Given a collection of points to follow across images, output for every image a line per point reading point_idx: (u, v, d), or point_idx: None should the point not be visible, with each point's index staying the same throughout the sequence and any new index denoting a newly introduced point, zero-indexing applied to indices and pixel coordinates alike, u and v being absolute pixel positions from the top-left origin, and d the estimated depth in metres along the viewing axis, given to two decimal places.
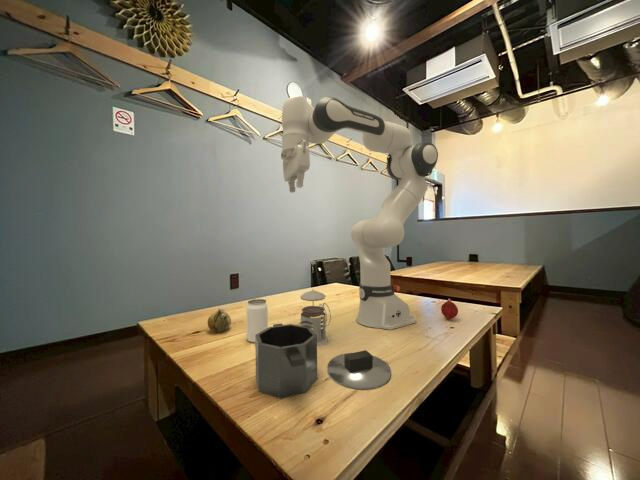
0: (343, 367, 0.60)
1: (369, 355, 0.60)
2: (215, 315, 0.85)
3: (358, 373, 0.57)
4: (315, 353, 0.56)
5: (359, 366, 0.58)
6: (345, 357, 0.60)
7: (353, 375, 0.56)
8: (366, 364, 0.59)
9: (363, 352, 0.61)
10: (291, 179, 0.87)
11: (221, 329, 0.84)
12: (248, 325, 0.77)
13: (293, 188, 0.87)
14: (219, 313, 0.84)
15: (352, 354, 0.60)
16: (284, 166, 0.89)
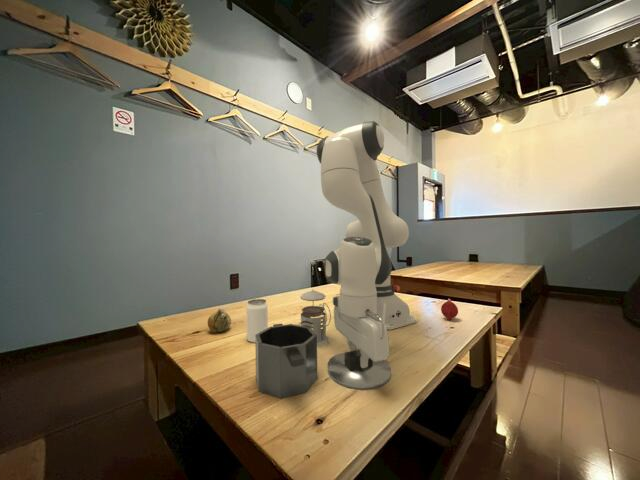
0: (343, 365, 0.60)
1: None
2: (215, 315, 0.85)
3: (358, 372, 0.57)
4: (315, 353, 0.56)
5: (359, 365, 0.58)
6: (345, 355, 0.60)
7: (353, 374, 0.56)
8: None
9: None
10: None
11: (221, 329, 0.84)
12: (248, 325, 0.77)
13: None
14: (219, 313, 0.84)
15: (352, 352, 0.60)
16: (336, 313, 0.66)
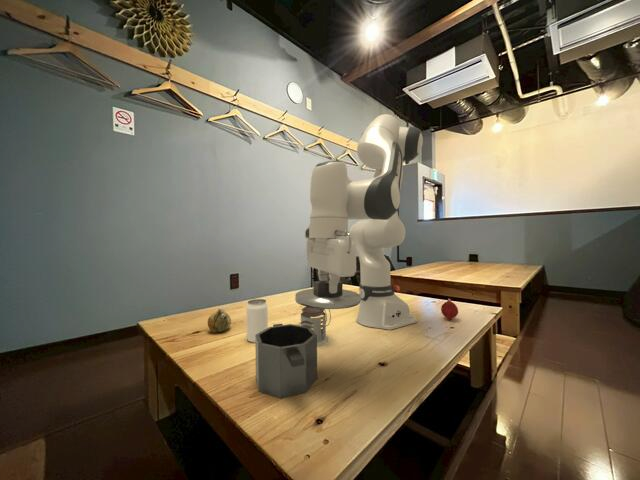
0: (312, 294, 0.58)
1: (339, 282, 0.57)
2: (215, 315, 0.85)
3: (326, 297, 0.55)
4: (315, 353, 0.56)
5: None
6: (314, 283, 0.57)
7: (320, 298, 0.54)
8: None
9: None
10: None
11: (221, 329, 0.84)
12: (248, 325, 0.77)
13: None
14: (219, 313, 0.84)
15: (322, 281, 0.58)
16: (309, 247, 0.64)
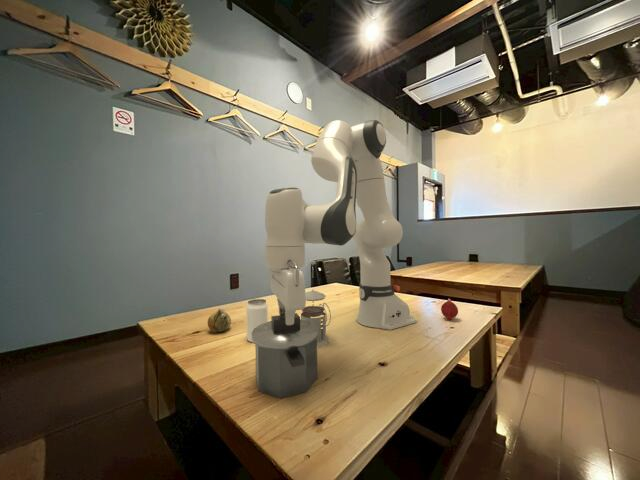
0: (269, 329, 0.57)
1: (297, 317, 0.56)
2: (215, 315, 0.85)
3: (281, 334, 0.54)
4: (315, 353, 0.56)
5: (285, 328, 0.55)
6: (271, 319, 0.56)
7: (275, 336, 0.53)
8: (293, 326, 0.56)
9: None
10: None
11: (221, 329, 0.84)
12: (248, 325, 0.77)
13: (284, 310, 0.59)
14: (219, 313, 0.84)
15: (279, 316, 0.57)
16: (270, 272, 0.63)
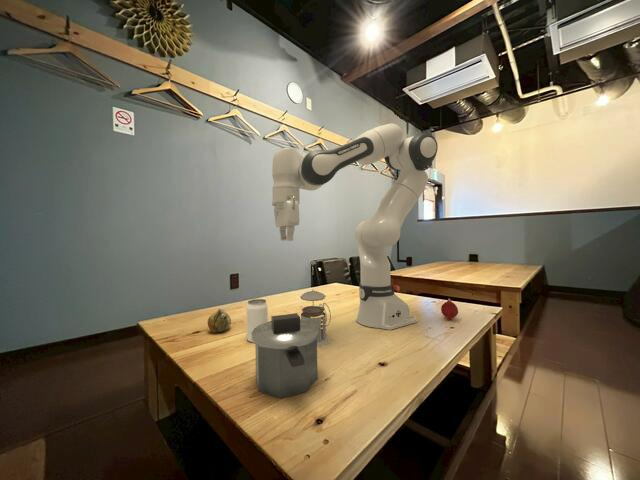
0: (269, 329, 0.57)
1: (297, 317, 0.56)
2: (215, 315, 0.85)
3: (281, 334, 0.54)
4: (315, 353, 0.56)
5: (285, 328, 0.55)
6: (271, 319, 0.56)
7: (275, 336, 0.53)
8: (293, 326, 0.56)
9: (292, 314, 0.58)
10: (282, 227, 0.87)
11: (221, 329, 0.84)
12: (248, 325, 0.77)
13: (284, 236, 0.86)
14: (219, 313, 0.84)
15: (279, 316, 0.57)
16: (275, 213, 0.88)
